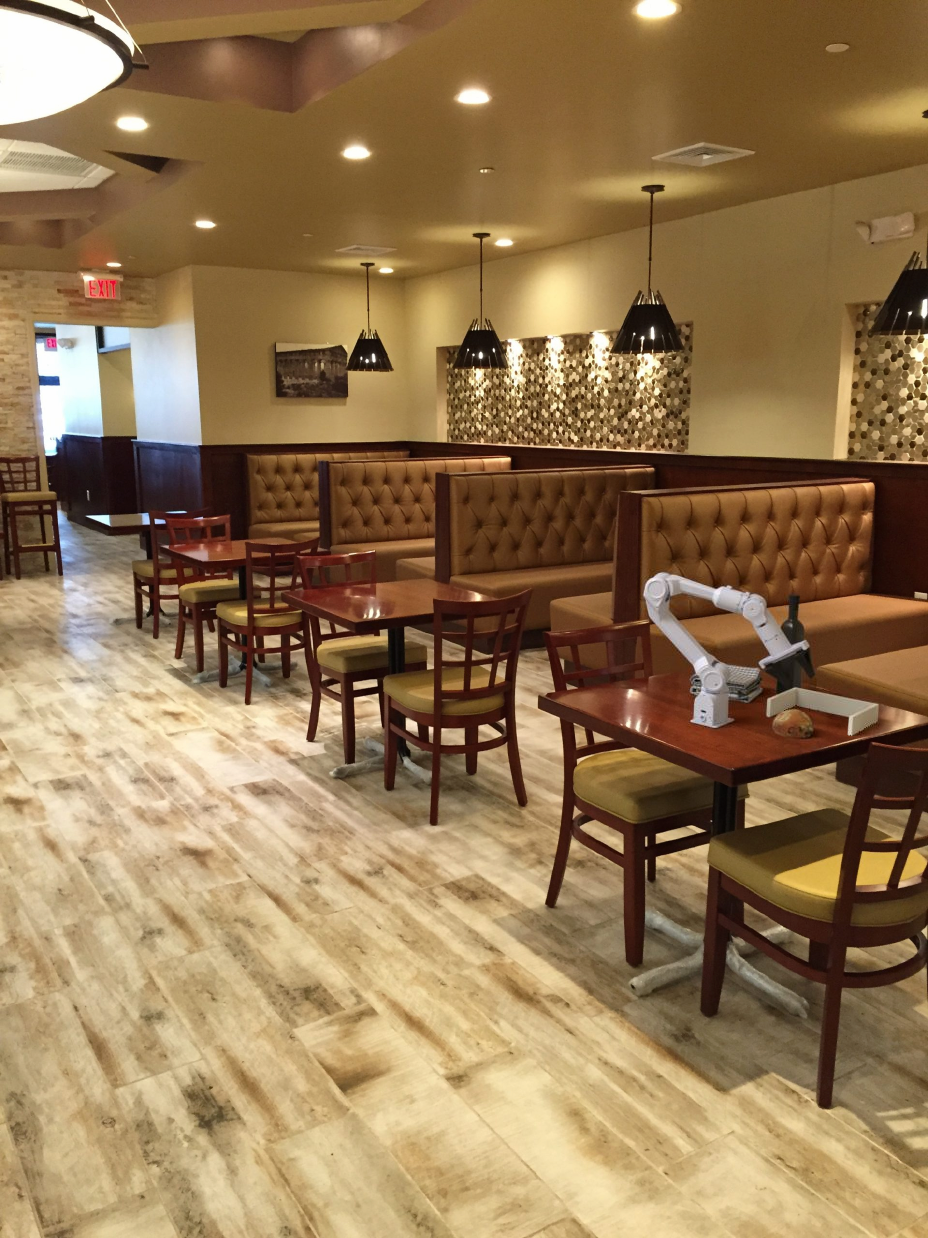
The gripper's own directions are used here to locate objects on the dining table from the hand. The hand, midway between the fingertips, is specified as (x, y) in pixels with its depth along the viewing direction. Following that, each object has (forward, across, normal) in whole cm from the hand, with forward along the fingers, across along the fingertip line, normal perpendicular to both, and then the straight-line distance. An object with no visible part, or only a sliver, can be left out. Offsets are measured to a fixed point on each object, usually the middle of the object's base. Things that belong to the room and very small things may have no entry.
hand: (800, 681), depth 258 cm
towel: (-1, +35, -18) cm, 39 cm away
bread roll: (+11, +7, +5) cm, 14 cm away
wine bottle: (+8, +24, -28) cm, 37 cm away
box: (+14, +8, -11) cm, 19 cm away
